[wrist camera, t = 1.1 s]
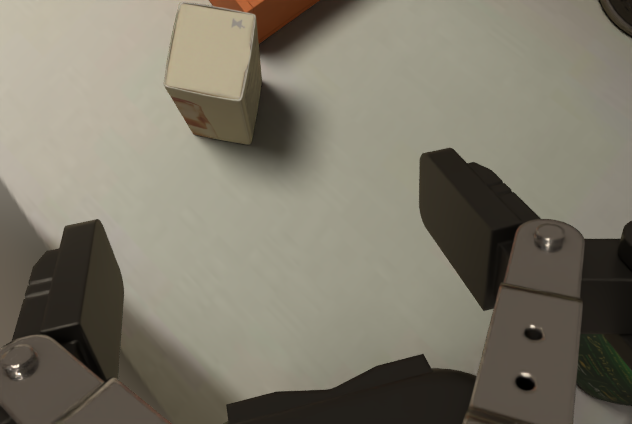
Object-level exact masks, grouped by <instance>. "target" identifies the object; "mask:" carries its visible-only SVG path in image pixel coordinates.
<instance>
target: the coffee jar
mask: <svg viewBox="0 0 632 424" xmlns="http://www.w3.org/2000/svg"><path fill="white" fill-rule="evenodd" d="M576 382H577V384H578V385H579V386H580V387H581V388H582V389H583V390H584V391H585V392H587V393H588V394H590V395H591V396H593V397H596V398H598V399H602V400H605V401H609V402H614V403H618V404H624V405H630V406H632V371H631V369H630V368H629V367H628V366H627V364H626V363H625V362H624V361H623V359H622V358H621V357H620V356H619V354H618V353H617V352H616V351H615V350H614V348H613V347H612V346H611V345H610V343H609V342H608V341H607V340H606V338H605V337H604V336H603V335H602V334H580V343H579V355H578V367H577V379H576Z"/></svg>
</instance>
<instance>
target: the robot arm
mask: <svg viewBox="0 0 632 424" xmlns="http://www.w3.org/2000/svg"><path fill="white" fill-rule="evenodd" d="M600 2H601V5H602V7H603V8H604V10H605V12H606V13H607V15H608V16H609V17H610V19H611V20H612V21H613V22H614V23H615V24H616V25H617V26H618V27H619V28H621V29H622V30H623V31H625V32H626V33H628V34H630V35H632V0H600ZM419 208H420V214H421V218H422V221H423V223H424V225H425V227H426V229H427V230H428V232H429V233H430V234H431V236H432V237H433V239H434V240H435V242H436V243H437V245H438V246H439V247H440V249H441V250H442V252H443V253H444V255H445V256H446V257H447V259H448V260H449V262H450V263H451V265H452V266H453V268H454V269H455V270H456V272H457V273H458V275H459V276H460V278H461V279H462V280H463V282H464V283H465V285H466V286H467V288H468V289H469V290H470V292H471V293H472V295H473V296H474V298H475V299H476V301H477V302H478V303H479V305H480V306H481V308H482V309H483V311H485V310H489V309H493V308H494V310H493V314H492V318H491V322H490V326H489V330H488V334H487V337H486V341H485V345H484V349H483V353H482V357H481V361H480V365H479V369H478V373H477V376H475V375H473V374H469V373H465V372H462V371H457V370H451V369H440V368H431V367H430V366H429V364H428V362H427V360H426V358H425V356H424V354H421V355H417V356H413V357H409V358H406V359H402V360H398V361H394V362H390V363H386V364H382V365H378V366H376V367H374V368H372V369H370V370H368V371H366V372H364V373H362V374H360V375H358V376H356V377H354V378H352V379H351V380H349V381H347V382H345V383H343V384H341V385H339V386H337V387H335V388H333V389H329V390H309V391H282V392H274V393H270V394H266V395H262V396H258V397H254V398H250V399H246V400H243V401H239V402H235V403H231V404H227V413H228V421H227V422H225V423H223V424H573V415H574V403H575V391H576V379H577V367H578V355H579V343H580V334H602V335H603V336H604V337H605V338H606V340H607V341H608V342H609V343H610V345H611V346H612V347H613V348H614V350H615V351H616V352H617V353H618V354H619V356H620V357H621V358H622V359H623V361H624V362H625V363H626V364H627V366H628V367H629V368H630V369H631V371H632V221H630V222H629V223H627V224H626V225H625V226H624V229H623V232H622V236H621V239H584V237H583V236H582V234H581V233H580V232H579V231H578V230H577V229H576V228H574V227H573V226H571V225H569V224H566V223H564V222H561V221H557V220H551V219H541V218H539V217H538V216H537V215H536V214H535V213H534V212H533V211H532V210H531V209H530V208H529V207H528V206H527V205H526V204H525V203H524V202H523V201H522V200H521V199H520V198H519V197H518V196H517V195H516V194H515V193H514V192H512V191H511V189H510V188H509V187H508V186H507V185H506V184H505V183H503V182H502V180H501V179H500V178H499V177H498V176H497V175H496V174H495V173H494V172H493V171H492V170H490V169H488V168H486V167H483V166H481V165H479V164H477V163H475V162H472V163H466V162H465V161H464V160H463V159H462V158H461V157H460V156H459V155H458V153H457V152H456V151H455V150H454V149H452V148H446V149H441V150H436V151H432V152H427V153H423V154H422V155H421V157H420V179H419ZM123 301H124V286H123V280H122V276H121V272H120V269H119V266H118V263H117V261H116V258H115V256H114V253H113V250H112V248H111V245H110V243H109V240H108V238H107V235H106V232H105V230H104V227H103V225H102V223H101V221H100V220H98V219H96V220H92V221H87V222H82V223H77V224H72V225H67V226H65V228H64V231H63V236H62V240H61V244H60V248H59V249H55V250H50V251H46V252H45V254H44V255H43V256H42V257H41V258H40V259H39V261H38V262H37V263H36V264H35V266H34V267H33V269H32V273H31V276H30V280H29V286H28V287H27V290H26V293H25V299H24V300H23V304H22V308H21V311H20V314H19V318H18V321H17V325H16V328H15V332H14V335H13V339H12V342H10V343H8V344H6V345H5V346H3V347H2V348H0V424H171V423H170V422H169V421H168V420H167V419H165V418H164V417H163V416H161V415H160V414H159V413H158V412H157V411H156V410H154V409H153V408H152V407H151V406H149V405H148V404H147V403H146V402H145V401H143V400H142V399H141V398H140V397H138V396H137V395H136V394H135V393H134V392H132V391H131V390H130V389H129V388H127V387H126V386H125V385H124V384H122V383H121V382H120V381H119V380H118V372H119V358H120V356H119V355H120V344H121V329H122V315H123Z"/></svg>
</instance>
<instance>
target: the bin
mask: <svg viewBox="0 0 632 424" xmlns="http://www.w3.org/2000/svg"><path fill="white" fill-rule="evenodd" d="M209 1H210V2H211V4H212V5H213V6H215V7H220V8H226V9H231V10H236V11H241V12H246V13H251V14H255V16H256V21H257V32H258V44H260V43H261V42H262V41H264V40H265V39H267V38H268V37H269V36H271V35H272V34H274V33H275V32H276V31H278V30H279V29H281V28H282V27H283V26H285V25H286V24H288V23H289V22H290V21H292V20H293V19H295V18H296V17H297V16H299V15H300V14H302V13H303V12H304V11H306V10H307V9H309V8H310V7H311V6H313V5H314V4H316V3H317V2H318V1H320V0H209Z"/></svg>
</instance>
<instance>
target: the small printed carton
mask: <svg viewBox="0 0 632 424" xmlns="http://www.w3.org/2000/svg"><path fill="white" fill-rule="evenodd" d="M261 84H262V77H261V66H260V55H259V44H258V32H257V21H256V16H255V14H251V13H246V12H241V11H236V10H231V9H226V8H220V7H215V6H209V5H203V4H196V3H187V2H180V4H179V6H178V10H177V14H176V18H175V23H174V27H173V32H172V36H171V42H170V47H169V53H168V58H167V64H166V71H165V79H164V86H165V88H166V90H167V91H168V93H169V95H170V96H171V98H172V99H173V101H174V103H175V104H176V106H177V108H178V110H179V111H180V113H181V115H182V116H183V118H184V119H185V121H186V123H187V125H188V126H189V128H190V130H191V131H192V133H193V134H195V135H199V136H204V137H209V138H213V139H219V140H224V141H229V142H235V143H241V144H247V145H250V144H251V142H252V138H253V133H254V127H255V122H256V116H257V110H258V104H259V98H260V91H261Z"/></svg>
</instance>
